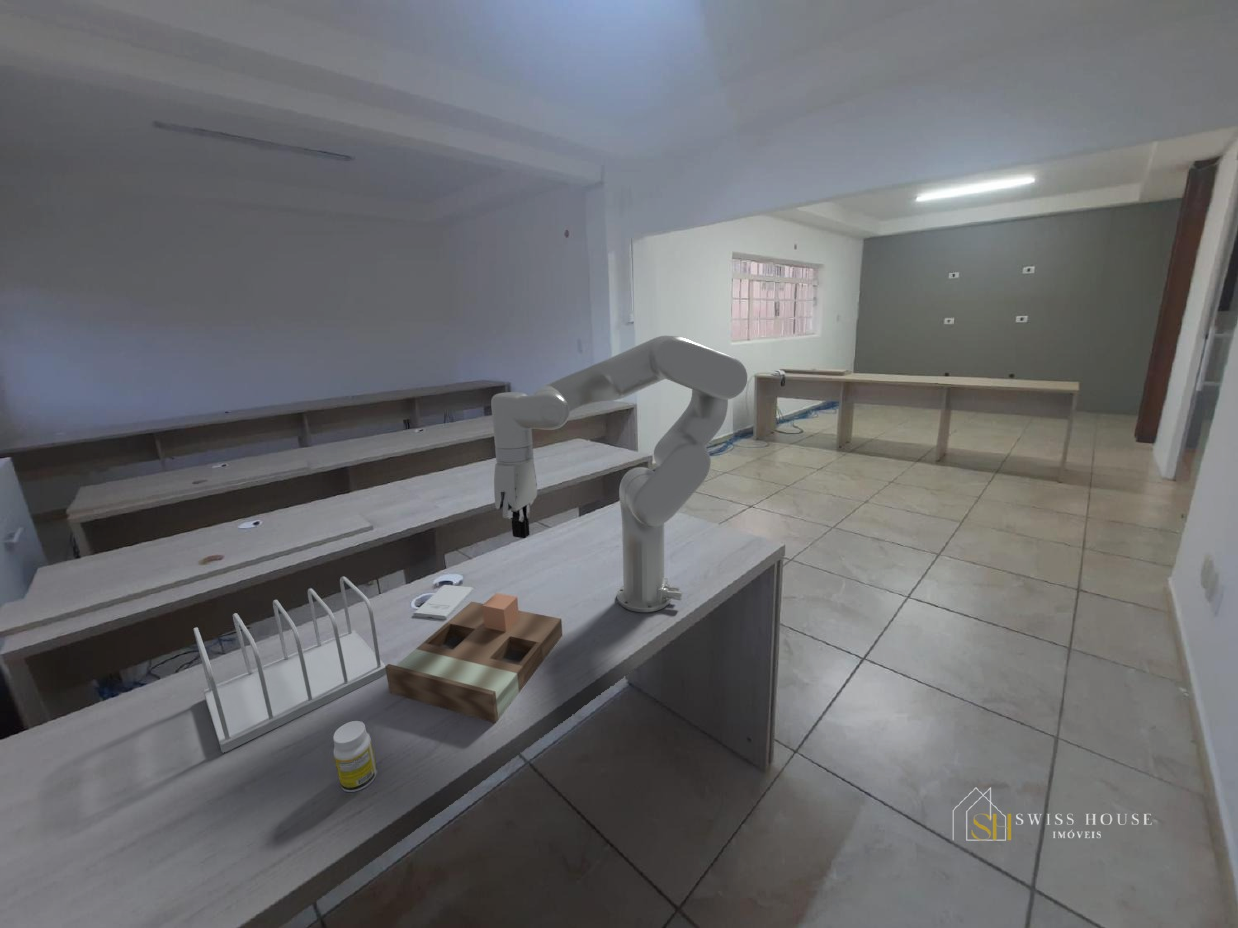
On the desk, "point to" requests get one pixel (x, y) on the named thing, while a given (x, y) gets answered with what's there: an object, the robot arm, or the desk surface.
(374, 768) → the supplement bottle
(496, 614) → the block
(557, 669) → the desk surface
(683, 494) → the robot arm
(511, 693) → the box
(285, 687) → the file sorter
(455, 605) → the external hard drive
